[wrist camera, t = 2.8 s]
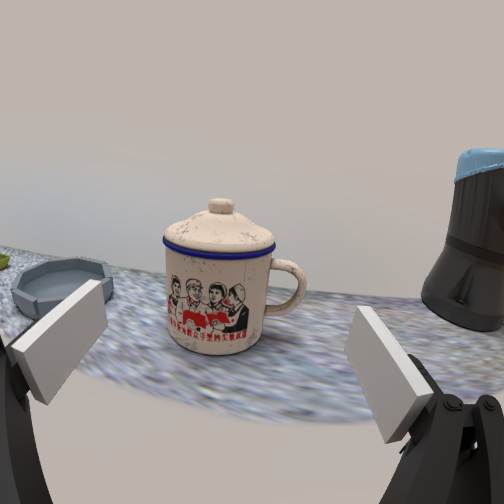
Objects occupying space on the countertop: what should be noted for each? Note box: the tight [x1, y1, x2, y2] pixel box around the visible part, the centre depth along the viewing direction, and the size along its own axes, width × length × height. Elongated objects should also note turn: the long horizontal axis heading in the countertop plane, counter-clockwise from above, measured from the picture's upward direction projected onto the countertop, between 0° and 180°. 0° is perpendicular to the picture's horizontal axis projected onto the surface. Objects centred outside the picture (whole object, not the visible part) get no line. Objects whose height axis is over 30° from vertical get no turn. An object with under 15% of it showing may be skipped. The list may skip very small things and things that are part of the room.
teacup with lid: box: [163, 198, 306, 355], centre depth 23 cm, size 12×9×12 cm
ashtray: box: [11, 257, 114, 320], centre depth 25 cm, size 13×13×2 cm
